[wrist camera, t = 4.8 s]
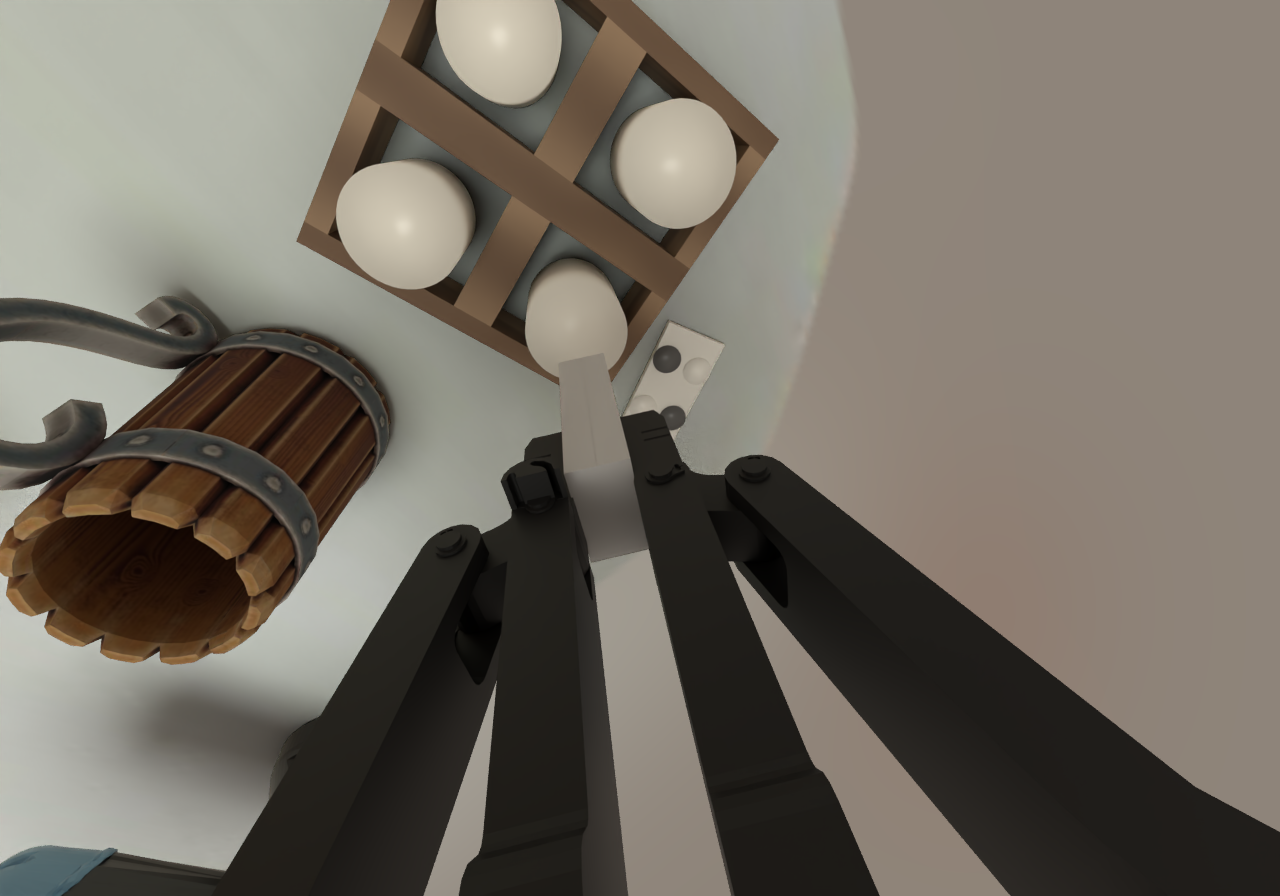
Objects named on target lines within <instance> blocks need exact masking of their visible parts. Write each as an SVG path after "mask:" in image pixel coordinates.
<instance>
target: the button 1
mask: <svg viewBox="0 0 1280 896" xmlns="http://www.w3.org/2000/svg"><path fill="white" fill-rule="evenodd" d="M336 221H337V227H338V231H339V235H340V238H341V240H342V243H343V245H344V247H345V249H346V250H347V252H348V253H349V255H350V256H351V258H352V259H353V260H354V261H355V263H356V264H357V265H358V266H359V267H360V268H361V269H362V270H363V271H365V272H366V273H367V274H368V275H370V276H371V277H373V278H374V279H376V280H378V281H380V282H382V283H384V284H386V285H389V286H392V287H396V288H400V289H422V288H426V287H429V286H432V285H434V284H436V283H438V282H440V281H441V280H443V279H444V278H445V277H446V276H447V275H448V274H449V273H450V272H451V271H452V270H453V268H454V267H455V265H456V264H457V262H458V261H459V260H460V258H461V257H462V255H463V254H464V252H465V251H466V249H467V248H468V246H469V245H470V243H471V241H472V239H473V236H474V232H475V227H476V215H475V209H474V205H473V202H472V199H471V197H470V195H469V193H468V191H467V189H466V188H465V186H464V185H463V183H462V182H461V181H460V180H459V179H458V178H457V177H456V176H455V175H454V174H453V173H452V172H451V171H449V170H448V169H447V168H445V167H443V166H442V165H440V164H438V163H435V162H433V161H429V160H426V159H418V158H412V159H404V160H399V161H393V162H387V163H382V164H376V165H372V166H369V167H366V168H364V169H362V170H360V171H358V172H357V173H356V174H354V175H353V176H352V177H351V178H350V179H349V180H348V181H347V182H346V184H345V185H344V187H343V189H342V191H341V192H340V195H339V198H338V201H337V208H336Z"/></svg>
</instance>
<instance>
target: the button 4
mask: <svg viewBox="0 0 1280 896" xmlns="http://www.w3.org/2000/svg"><path fill="white" fill-rule="evenodd" d="M610 167H611V173H612V178H613V181H614V183H615V186H616V188H617V189H618V191H619V193H620V194H621V196H622V197H623V198H624V199H625V200H626V201H627V202H628V203H629V204H630V205H631V206H633V207H634V208H635V209H636V210H637V211H639V212H640V213H641V214H642V215H644V216H645V217H646V218H647V219H649V220H650V221H652V222H653V223H655V224H658V225H660V226H663V227H666V228H672V229H682V228H689V227H692V226H695V225H697V224H700V223H702V222H703V221H705V220H707V219H708V218H709V217H711V216H712V215H713V214H714V213H715V212H716V211H717V210H718V209H719V208H720V207H721V205H722V204H723V203H724V201H725V199H726V198H727V196H728V194H729V192H730V190H731V187H732V184H733V181H734V177H735V172H736V150H735V144H734V140H733V137H732V135H731V132H730V130H729V128H728V126H727V124H726V123H725V121H724V120H723V119H722V117H721V116H720V115H719V114H718V113H717V112H716V111H715V110H714V109H712V108H711V107H710V106H708V105H706V104H704V103H702V102H700V101H697V100H693V99H687V98H679V99H672V100H668V101H664V102H661V103H657V104H654V105H650V106H647V107H643V108H641V109H639V110H637V111H636V112H634V113H632V114H631V115H630V116H629V117H628V118H627V119H626V120H625V121H624V122H623V123H622V125H621V126H620V128H619V129H618V131H617V133H616V135H615V137H614V140H613V143H612V148H611V154H610Z"/></svg>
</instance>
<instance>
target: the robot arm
mask: <svg viewBox="0 0 1280 896" xmlns="http://www.w3.org/2000/svg"><path fill="white" fill-rule="evenodd" d="M559 383H560V404H561V425H562V432H560V433H555V434H551V435H546V436H542V437H538V438H533V439H532V440H531V442H530V443H529V445H528V446H527V447H526V449H525V455H524V461H523V462H520V463H518V464H516V465H515V466H513V467H511V468H510V469H509V470H508V471H507V472H506V473H505V474H504V475H503V477H502V480H501V483H502V486H503V489H504V491H505V494H506V496H507V499H508V501H509V504H510V506H511V509H512V516H511V518H510V519H509V520H508V521H506V522H505V523H504V524H502V525H500V526H498V527H496V528H494V529H492V530H490V531H487V532H485V533H483V534H480V531H479V529H478V528H476V527H474V526H472V525H463V524H462V525H457V526H452V527H449V528H446V529H444V530H442V531H440V532H439V533H437V534H436V535H434V536H433V537H432V538H430V539H429V540H428V542H427V543H426V544H425V545H424V546H423V548H422V549H421V551H420V553H419V554H418V556H417V557H416V559H415V561H414V562H413V564H412V566H411V567H410V569H409V571H408V572H407V574H406V576H405V577H404V579H403V581H402V582H401V584H400V585H399V587H398V589H397V590H396V592H395V594H394V595H393V597H392V599H391V600H390V602H389V604H388V605H387V607H386V609H385V610H384V612H383V614H382V615H381V617H380V618H379V620H378V622H377V623H376V625H375V627H374V628H373V630H372V632H371V633H370V635H369V637H368V638H367V640H366V642H365V643H364V645H363V646H362V648H361V650H360V651H359V653H358V655H357V656H356V658H355V660H354V661H353V663H352V665H351V666H350V668H349V670H348V671H347V673H346V674H345V676H344V678H343V679H342V681H341V683H340V684H339V686H338V688H337V689H336V691H335V693H334V694H333V696H332V698H331V699H330V701H329V702H328V704H327V706H326V707H325V709H324V711H323V712H322V714H321V716H320V717H319V719H316V720H314V721H311V722H309V723H308V724H306V725H304V726H302V727H301V728H299V729H298V730H296V731H295V732H294V733H293V734H292V735H291V736H290V737H289V738H288V739H287V741H286V742H285V744H284V745H283V748H282V750H281V752H280V754H279V757H278V759H277V762H276V764H275V766H274V769H273V772H272V775H271V780H270V792H269V801H268V803H267V805H266V806H265V808H264V810H263V811H262V813H261V815H260V816H259V818H258V819H257V821H256V823H255V824H254V826H253V828H252V829H251V831H250V833H249V834H248V836H247V838H246V839H245V841H244V843H243V844H242V846H241V848H240V849H239V851H238V852H237V854H236V856H235V857H234V859H233V861H232V862H231V864H230V866H229V867H228V869H227V871H223V870H217V869H210V868H204V867H198V866H192V865H185V864H179V863H173V862H167V861H161V860H156V859H150V858H145V857H139V856H134V855H129V854H123V853H118V852H117V851H118V850H117V849H114V848H108V849H106V850H103V851H102V850H91V849H80V848H69V847H61V846H52V845H47V846H38V847H33V848H30V849H27V850H24V851H22V852H20V853H18V854H16V855H14V856H12V857H10V858H8V859H7V860H5V861H4V862H2V863H1V864H0V896H423V895H424V892H425V889H426V886H427V884H428V880H429V878H430V875H431V872H432V869H433V866H434V863H435V860H436V857H437V854H438V851H439V848H440V845H441V842H442V839H443V837H444V834H445V830H446V828H447V824H448V822H449V819H450V815H451V813H452V810H453V807H454V804H455V801H456V798H457V795H458V792H459V789H460V786H461V784H462V781H463V777H464V775H465V772H466V769H467V766H468V763H469V760H470V757H471V754H472V751H473V748H474V745H475V742H476V739H477V737H478V733H479V731H480V728H481V725H482V722H483V719H484V716H485V713H486V710H487V707H488V704H489V701H490V698H491V695H492V692H493V689H494V686H495V684H496V681H497V685H496V697H495V707H494V719H493V729H492V741H491V752H490V764H489V775H488V785H487V797H486V808H485V819H484V830H483V839H482V845H481V848H480V851H479V854H478V855H477V856H476V857H475V858H474V859H473V860H472V861H470V862H469V863H468V864H467V867H466V869H465V872H464V874H463V877H462V880H461V886H460V892H459V896H628V891H627V881H626V872H625V863H624V853H623V844H622V834H621V825H620V816H619V807H618V798H617V788H616V779H615V770H614V760H613V751H612V742H611V732H610V724H609V714H608V705H607V695H606V686H605V677H604V668H603V659H602V650H601V640H600V632H599V631H600V630H599V622H598V612H597V603H596V593H595V584H594V577H593V574H592V570H591V567H590V564H589V557H590V560H591V563H592V562H596V561H601V560H605V559H609V558H613V557H617V556H622V555H626V554H630V553H634V552H638V551H643V550H647V549H649V551H650V556H651V560H652V564H653V569H654V574H655V578H656V582H657V586H658V590H659V593H660V598H661V602H662V607H663V611H664V615H665V619H666V623H667V627H668V632H669V635H670V640H671V644H672V648H673V653H674V657H675V661H676V665H677V669H678V674H679V678H680V682H681V686H682V690H683V695H684V698H685V703H686V707H687V711H688V716H689V720H690V724H691V728H692V732H693V736H694V741H695V745H696V749H697V753H698V758H699V762H700V766H701V770H702V774H703V779H704V783H705V787H706V791H707V795H708V800H709V804H710V808H711V812H712V816H713V820H714V825H715V829H716V833H717V837H718V841H719V846H720V849H721V854H722V858H723V863H724V866H725V871H726V875H727V879H728V884H729V888H730V892H731V896H879V893H878V891H877V889H876V886H875V884H874V882H873V879H872V877H871V875H870V873H869V870H868V868H867V866H866V863H865V861H864V858H863V856H862V854H861V851H860V849H859V847H858V845H857V842H856V840H855V838H854V835H853V833H852V831H851V828H850V826H849V824H848V821H847V819H846V817H845V814H844V812H843V810H842V808H841V805H840V803H839V801H838V799H837V797H836V794H835V792H834V790H833V788H832V786H831V784H830V782H829V781H828V779H827V778H826V776H825V775H824V773H823V772H822V771H820V770H819V769H817V768H816V767H815V766H814V764H813V763H812V761H811V759H810V757H809V755H808V752H807V750H806V748H805V745H804V743H803V740H802V738H801V736H800V733H799V731H798V728H797V726H796V724H795V721H794V719H793V716H792V714H791V712H790V709H789V707H788V704H787V702H786V699H785V697H784V695H783V692H782V690H781V687H780V685H779V683H778V680H777V678H776V675H775V673H774V671H773V668H772V666H771V663H770V661H769V659H768V656H767V654H766V651H765V649H764V647H763V644H762V642H761V639H760V637H759V635H758V632H757V630H756V627H755V625H754V622H753V620H752V618H751V615H750V613H749V611H748V608H747V606H746V603H745V601H744V598H743V596H742V594H741V591H740V589H739V587H738V584H737V582H736V579H735V577H734V574H733V572H732V570H731V567H730V565H729V562H728V561H734V563H735V565H736V567H737V569H738V570H739V571H740V572H741V574H742V575H743V576H744V577H745V578H746V579H747V581H748V582H749V583H750V584H751V586H752V587H753V588H754V589H755V590H756V591H757V593H758V594H759V595H760V596H761V597H762V599H763V600H764V601H765V602H766V603H767V605H768V606H769V607H770V608H771V609H772V610H773V612H774V613H775V614H776V615H777V617H778V618H779V619H780V620H781V621H782V623H783V624H784V625H785V626H786V627H787V629H788V630H789V631H790V632H791V633H792V635H793V636H794V637H795V638H796V639H797V641H798V642H799V643H800V644H801V645H802V646H803V648H804V649H805V650H806V651H807V653H808V654H809V655H810V656H811V657H812V659H813V660H814V661H815V662H816V663H817V664H818V666H819V667H820V668H821V669H822V670H823V672H824V673H825V674H826V675H827V676H828V678H829V679H830V680H831V681H832V683H833V684H834V685H835V686H836V687H837V688H838V690H839V691H840V692H841V693H842V694H843V696H844V697H845V698H846V699H847V700H848V702H849V703H850V704H851V705H852V706H853V708H854V709H855V710H856V711H857V712H858V714H859V715H860V716H861V717H862V718H863V720H864V721H865V722H866V723H867V724H868V726H869V727H870V728H871V729H872V730H873V732H874V733H875V734H876V735H877V736H878V738H879V739H880V740H881V741H882V742H883V743H884V745H885V746H886V747H887V748H888V750H889V751H890V752H891V753H892V754H893V756H894V757H895V758H896V759H897V760H898V762H899V763H900V764H901V765H902V766H903V768H904V769H905V770H906V771H907V772H908V773H909V775H910V776H911V777H912V778H913V780H914V781H915V782H916V783H917V784H918V786H919V787H920V788H921V789H922V790H923V792H924V793H925V794H926V795H927V796H928V798H929V799H930V800H931V801H932V802H933V804H934V805H935V806H936V807H937V808H938V809H939V811H940V812H941V813H942V814H943V816H944V817H945V818H946V819H947V820H948V821H949V823H950V824H951V825H952V826H953V827H954V829H955V830H956V831H957V832H958V833H959V835H960V836H961V837H962V838H963V839H964V841H965V842H966V843H967V844H968V845H969V847H970V848H971V849H972V850H973V851H974V853H975V854H976V855H977V856H978V857H979V859H980V860H981V861H982V862H983V863H984V865H985V866H986V867H987V868H988V869H989V871H990V872H991V873H992V874H993V875H994V877H995V878H996V879H997V880H998V881H999V883H1000V884H1001V885H1002V886H1003V887H1004V889H1005V890H1006V891H1007V892H1008V893H1009V894H1010V895H1011V896H1280V832H1279V831H1277V830H1275V829H1273V828H1271V827H1269V826H1267V825H1265V824H1264V823H1262V822H1260V821H1258V820H1256V819H1254V818H1252V817H1251V816H1249V815H1247V814H1245V813H1243V812H1241V811H1239V810H1237V809H1236V808H1234V807H1232V806H1230V805H1228V804H1226V803H1224V802H1222V801H1221V800H1219V799H1217V798H1215V797H1213V796H1211V795H1209V794H1207V793H1206V792H1204V791H1202V790H1200V789H1198V788H1196V787H1195V786H1193V785H1192V784H1191V783H1189V782H1188V781H1187V780H1186V779H1184V778H1183V777H1182V776H1181V775H1179V774H1178V773H1177V772H1175V771H1174V770H1173V769H1172V768H1170V767H1169V766H1168V765H1166V764H1165V763H1164V762H1163V761H1161V760H1160V759H1159V758H1158V757H1156V756H1155V755H1154V754H1152V753H1151V752H1150V751H1149V750H1147V749H1146V748H1145V747H1143V746H1142V745H1141V744H1140V743H1138V742H1137V741H1136V740H1135V739H1133V738H1132V737H1131V736H1129V735H1128V734H1127V733H1126V732H1124V731H1123V730H1122V729H1120V728H1119V727H1118V726H1117V725H1116V724H1114V723H1113V722H1112V721H1110V720H1109V719H1108V718H1106V717H1105V716H1104V715H1102V714H1101V713H1100V712H1099V711H1098V710H1096V709H1095V708H1094V707H1093V706H1091V705H1090V704H1089V703H1087V702H1086V701H1085V700H1084V699H1082V698H1081V697H1080V696H1079V695H1077V694H1076V693H1075V692H1073V691H1072V690H1071V689H1069V688H1068V687H1067V686H1066V685H1064V684H1063V683H1062V682H1061V681H1059V680H1058V679H1057V678H1056V677H1054V676H1053V675H1052V674H1050V673H1049V672H1048V671H1046V670H1045V669H1044V668H1043V667H1041V666H1040V665H1039V664H1038V663H1036V662H1035V661H1034V660H1033V659H1031V658H1030V657H1029V656H1027V655H1026V654H1025V653H1024V652H1022V651H1021V650H1020V649H1019V648H1017V647H1016V646H1015V645H1013V644H1012V643H1011V642H1010V641H1008V640H1007V639H1006V638H1004V637H1003V636H1002V635H1001V634H999V633H998V632H997V631H996V630H994V629H993V628H992V627H990V626H989V625H988V624H987V623H985V622H984V621H983V620H981V619H980V618H979V617H978V616H976V615H975V614H974V613H973V612H971V611H970V610H969V609H967V608H966V607H965V606H964V605H962V604H961V603H960V602H958V601H957V600H956V599H955V598H953V597H952V596H951V595H950V594H948V593H947V592H946V591H944V590H943V589H942V588H941V587H939V586H938V585H937V584H936V583H934V582H933V581H932V580H930V579H929V578H928V577H926V576H925V575H924V574H923V573H921V572H920V571H919V570H918V569H916V568H915V567H914V566H913V565H911V564H910V563H909V562H908V561H906V560H905V559H904V558H902V557H901V556H900V555H899V554H897V553H896V552H895V551H894V550H892V549H891V548H890V547H888V546H887V545H886V544H885V543H883V542H882V541H881V540H879V539H878V538H877V537H876V536H874V535H873V534H872V533H871V532H869V531H868V530H867V529H865V528H864V527H863V526H861V525H860V524H859V523H858V522H857V521H855V520H854V519H853V518H851V517H850V516H849V515H847V514H846V513H845V512H844V511H842V510H841V509H840V508H839V507H837V506H836V505H835V504H834V503H832V502H831V501H830V500H828V499H827V498H826V497H825V496H823V495H822V494H821V493H820V492H818V491H817V490H816V489H814V488H813V487H812V486H811V485H809V484H808V483H807V482H805V481H804V480H803V479H802V478H800V477H799V476H798V475H797V474H795V473H794V472H793V471H791V470H790V469H789V468H788V467H786V466H785V465H784V464H783V463H781V462H780V461H778V460H776V459H774V458H772V457H768V456H763V455H749V456H745V457H741V458H738V459H736V460H735V461H733V462H731V463H730V464H729V465H728V466H727V468H726V469H725V475H703V474H698V473H695V472H693V471H690V468H689V467H688V466H687V465H686V464H685V463H684V462H682V460H681V458H680V455H679V453H678V450H677V448H676V446H675V443H674V441H673V438H672V436H671V433H670V431H669V428H668V426H667V423H666V421H665V418H664V416H662V415H661V414H659V413H658V412H656V411H654V410H650V411H645V412H641V413H637V414H632V415H628V416H624V417H620V416H619V412H618V408H617V404H616V400H615V396H614V392H613V388H612V384H611V380H610V376H609V372H608V368H607V364H606V361H605V357H604V353H600V354H595V355H591V356H586V357H582V358H578V359H573V360H569V361H564V362H560V363H559ZM588 553H589V556H588Z"/></svg>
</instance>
